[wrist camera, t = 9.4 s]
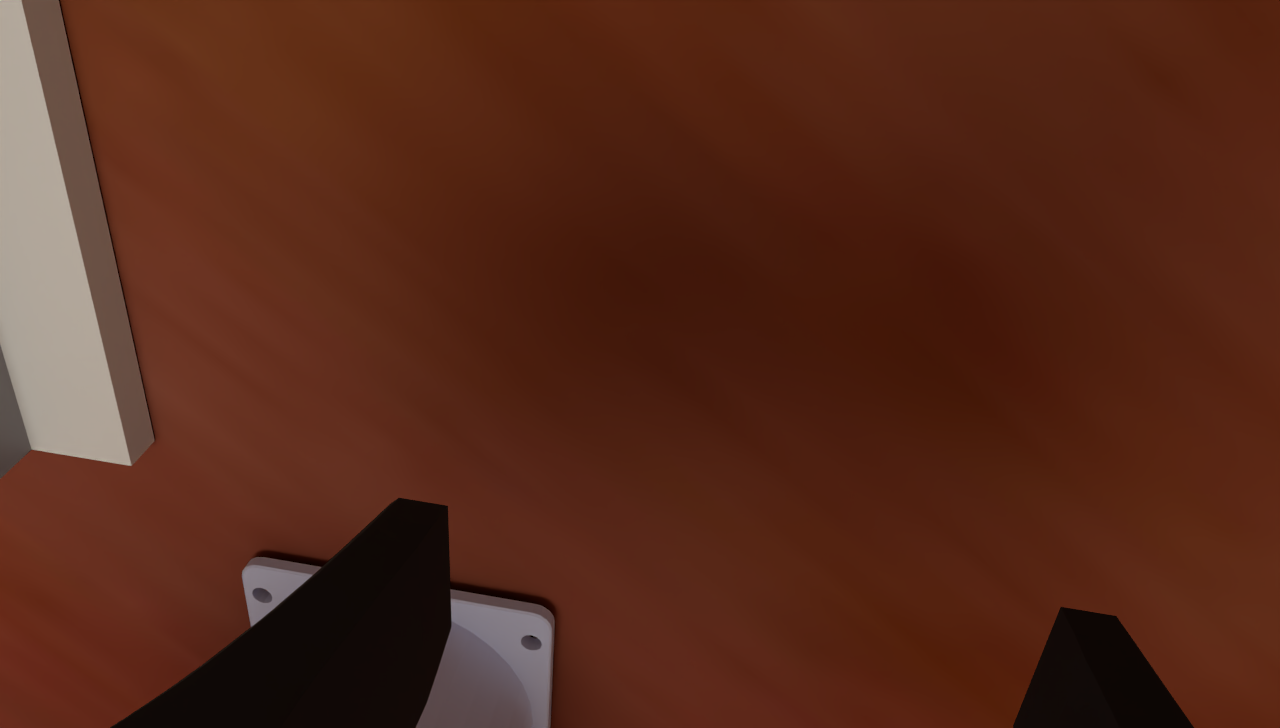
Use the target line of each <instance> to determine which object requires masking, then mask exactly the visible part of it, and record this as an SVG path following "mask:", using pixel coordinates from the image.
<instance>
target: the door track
mask: <svg viewBox="0 0 1280 728" xmlns="http://www.w3.org/2000/svg"><path fill="white" fill-rule="evenodd" d="M154 441H155V440H154V435H153V430H152V426H151V421H150V417H149V412H148V408H147V403H146V398H145V394H144V389H143V385H142V380H141V375H140V371H139V366H138V362H137V357H136V353H135V348H134V343H133V339H132V334H131V330H130V325H129V320H128V316H127V311H126V307H125V302H124V298H123V293H122V288H121V284H120V279H119V275H118V270H117V265H116V261H115V256H114V252H113V247H112V243H111V238H110V233H109V229H108V224H107V220H106V215H105V210H104V206H103V201H102V197H101V192H100V187H99V183H98V178H97V174H96V169H95V165H94V160H93V155H92V151H91V146H90V142H89V137H88V132H87V128H86V123H85V119H84V114H83V110H82V105H81V100H80V96H79V91H78V87H77V82H76V77H75V73H74V68H73V64H72V59H71V55H70V50H69V45H68V41H67V36H66V32H65V27H64V22H63V18H62V13H61V9H60V4H59V0H0V478H1V477H3V476H4V475H5V474H6V473H7V472H8V471H9V470H10V469H11V468H12V467H13V466H14V465H15V464H16V463H17V462H19V461H20V460H21V459H22V458H23V457H24V456H25V455H26V454H27V453H28V452H29V451H30V450H31V449H32V450H38V451H44V452H50V453H56V454H62V455H68V456H74V457H80V458H86V459H93V460H99V461H105V462H111V463H117V464H123V465H129V466H132V465H133V464H134V463H135V462H136V461H137V460H138V458H139V457H140V456H141V455H142V454H143V453H144V452H145V451H146V450H147V449H148V448H149V446H150V445H151V444H152V443H153V442H154Z"/></svg>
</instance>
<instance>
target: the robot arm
mask: <svg viewBox="0 0 1280 728" xmlns="http://www.w3.org/2000/svg"><path fill="white" fill-rule="evenodd" d="M242 580H243V586H244V591H245V597H246V602H247V608H248V614H249V619H250V625H251V628H249V629H248V630H247V631H245V632H244V633H243V634H242V635H240V636H239V637H238V638H236V639H235V640H234V641H233V642H231V643H230V644H229V645H227V646H226V647H225V648H224V649H222V650H221V651H220V652H218V653H217V654H216V655H215V656H213V657H212V658H211V659H209V660H208V661H207V662H206V663H204V664H203V665H201V666H200V667H199V668H197V669H196V670H195V671H193V672H192V673H190V674H189V675H188V676H186V677H185V678H184V679H182V680H181V681H179V682H178V683H177V684H175V685H174V686H172V687H171V688H169V689H168V690H166V691H165V692H164V693H162V694H161V695H159V696H158V697H156V698H155V699H153V700H152V701H150V702H149V703H147V704H146V705H144V706H143V707H141V708H140V709H138V710H137V711H135V712H134V713H132V714H131V715H129V716H128V717H126V718H125V719H123V720H121V721H120V722H118V723H117V724H115V725H113V726H112V727H110V728H550V726H551V701H552V677H553V653H554V629H555V620H554V616H553V615H552V613H551V612H550V611H549V610H548V609H546V608H545V607H543V606H541V605H538V604H533V603H528V602H522V601H516V600H510V599H504V598H499V597H493V596H487V595H481V594H475V593H470V592H464V591H458V590H452V589H450V561H449V531H448V506H445V505H439V504H433V503H427V502H421V501H415V500H409V499H403V498H398V499H397V500H395V501H394V502H392V503H391V504H390V505H389V506H388V507H386V508H385V509H384V510H383V511H382V512H381V513H380V514H379V515H378V516H377V517H376V518H375V519H374V520H373V521H372V522H370V523H369V524H368V525H367V526H366V527H365V528H364V529H363V530H362V531H361V532H360V533H359V534H358V535H357V536H355V537H354V538H353V539H352V540H351V541H350V542H349V543H348V544H347V545H346V546H345V547H344V548H342V549H341V550H340V551H339V552H338V553H337V554H336V555H335V556H334V557H333V558H331V559H330V560H329V561H328V562H327V563H326V564H325V565H324V566H323V567H319V566H313V565H307V564H301V563H296V562H290V561H284V560H278V559H272V558H267V557H255V558H253V559H251V560H250V561H249V562H248V564H247V565H246V567H245V568H244V570H243V571H242ZM266 590H267V591H266ZM529 635H532V636H535V637H537V638H538V639H535V638H532V637H530V636H529ZM1013 728H1194V727H1193V725H1192V724H1191V723H1190V721H1189V720H1188V718H1187V717H1186V716H1185V714H1184V713H1183V711H1182V710H1181V708H1180V707H1179V706H1178V704H1177V703H1176V701H1175V700H1174V698H1173V697H1172V696H1171V694H1170V693H1169V691H1168V690H1167V688H1166V687H1165V686H1164V684H1163V683H1162V681H1161V680H1160V678H1159V677H1158V675H1157V674H1156V673H1155V671H1154V670H1153V668H1152V667H1151V665H1150V664H1149V662H1148V661H1147V659H1146V658H1145V657H1144V655H1143V654H1142V652H1141V651H1140V649H1139V648H1138V647H1137V645H1136V644H1135V642H1134V641H1133V639H1132V638H1131V636H1130V635H1129V634H1128V632H1127V631H1126V629H1125V628H1124V627H1123V625H1122V624H1121V622H1120V621H1119V619H1118V618H1117V617H1116V616H1112V615H1106V614H1100V613H1094V612H1088V611H1082V610H1076V609H1070V608H1064V607H1061V608H1060V610H1059V613H1058V615H1057V618H1056V620H1055V623H1054V625H1053V628H1052V630H1051V633H1050V635H1049V638H1048V640H1047V643H1046V645H1045V648H1044V650H1043V653H1042V655H1041V658H1040V660H1039V663H1038V665H1037V668H1036V670H1035V673H1034V675H1033V678H1032V680H1031V683H1030V685H1029V688H1028V690H1027V693H1026V695H1025V698H1024V700H1023V703H1022V705H1021V708H1020V710H1019V713H1018V715H1017V718H1016V720H1015V723H1014V725H1013Z"/></svg>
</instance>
